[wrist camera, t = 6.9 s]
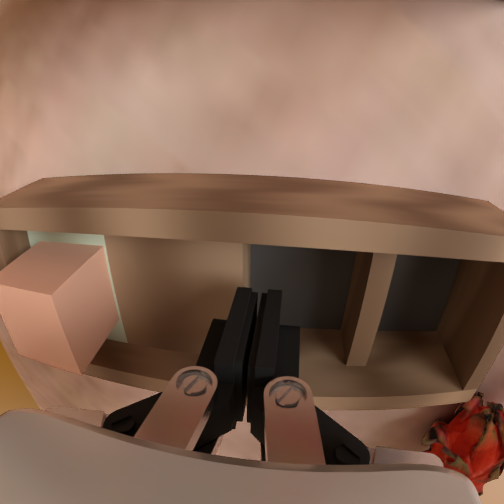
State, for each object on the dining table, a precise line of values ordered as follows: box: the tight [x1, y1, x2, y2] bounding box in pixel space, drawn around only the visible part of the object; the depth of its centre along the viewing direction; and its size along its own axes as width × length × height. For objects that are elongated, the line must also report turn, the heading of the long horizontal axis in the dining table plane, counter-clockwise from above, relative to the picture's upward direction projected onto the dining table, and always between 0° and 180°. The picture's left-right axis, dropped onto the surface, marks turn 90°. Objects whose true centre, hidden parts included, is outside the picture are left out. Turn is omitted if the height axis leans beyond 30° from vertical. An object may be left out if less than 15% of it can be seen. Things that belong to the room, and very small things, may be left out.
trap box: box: [0, 174, 504, 410], centre depth 14 cm, size 24×9×5 cm, turn 89°
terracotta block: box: [0, 241, 119, 375], centre depth 12 cm, size 4×4×4 cm
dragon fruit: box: [421, 392, 504, 496], centre depth 17 cm, size 8×8×12 cm
